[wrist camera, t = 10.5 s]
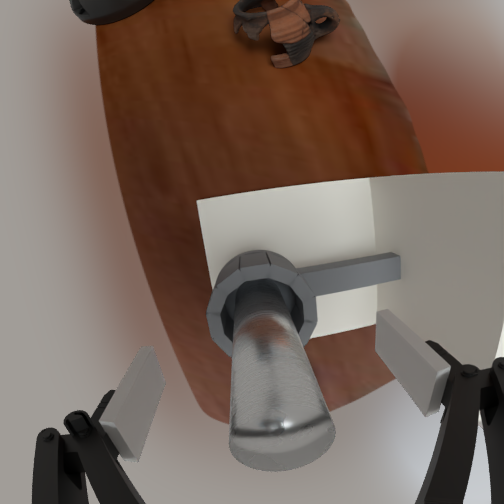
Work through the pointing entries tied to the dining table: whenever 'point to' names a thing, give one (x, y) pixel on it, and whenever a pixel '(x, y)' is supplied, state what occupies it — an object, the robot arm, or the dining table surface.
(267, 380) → the transparent drinking glass
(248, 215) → the cup bracket stand
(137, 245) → the dining table surface
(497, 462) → the robot arm
